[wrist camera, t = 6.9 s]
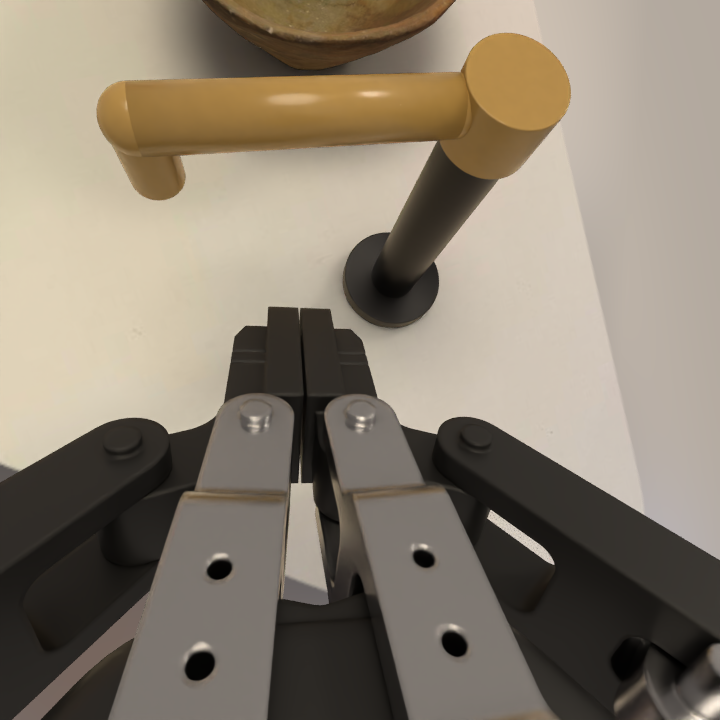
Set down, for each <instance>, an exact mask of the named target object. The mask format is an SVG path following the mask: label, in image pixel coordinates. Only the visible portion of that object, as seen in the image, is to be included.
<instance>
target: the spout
mask: <svg viewBox="0 0 720 720" xmlns="http://www.w3.org/2000/svg"><path fill="white" fill-rule="evenodd" d="M570 98H571V89H570V83H569V79H568V76H567V73H566V71H565V69H564V67H563V66H562V64H561V63H560V61H559V60H558V59H557V57H556V56H555V55H554V54H553V53H552V52H551V51H550V50H549V49H547V48H546V47H545V46H544V45H542V44H541V43H539V42H537V41H535V40H534V39H531V38H529V37H526V36H523V35H520V34H514V33H499V34H494V35H491V36H488V37H486V38H484V39H482V40H481V41H480V42H478V43H477V44H476V45H475V46H474V47H473V48H472V50H471V51H470V53H469V55H468V57H467V59H466V61H465V63H464V65H463V68H462V70H461V72H437V73H399V74H360V75H322V76H283V77H245V78H206V79H168V80H129V81H119V82H116V83H114V84H112V85H110V86H109V87H107V88H106V89H105V91H104V92H103V93H102V94H101V96H100V98H99V100H98V104H97V120H98V124H99V127H100V129H101V131H102V133H103V135H104V136H105V138H106V139H107V140H108V142H109V143H110V144H111V145H112V146H113V148H114V150H115V152H116V154H117V156H118V158H119V160H120V162H121V164H122V166H123V168H124V170H125V172H126V174H127V176H128V178H129V180H130V182H131V183H132V185H133V187H134V189H135V190H136V191H137V192H138V193H139V194H141V195H142V196H144V197H146V198H149V199H152V200H166V199H169V198H172V197H174V196H175V195H177V194H178V193H179V192H180V191H181V189H182V188H183V186H184V184H185V178H186V176H185V171H184V167H183V164H182V161H181V157H180V155H197V154H214V153H232V152H249V151H266V150H284V149H301V148H319V147H336V146H353V145H371V144H388V143H406V142H423V141H440V144H441V146H442V148H443V150H444V152H445V154H446V155H447V157H448V158H449V159H450V160H451V161H452V162H453V163H454V164H455V165H456V166H457V167H458V168H460V169H461V170H463V171H464V172H466V173H468V174H470V175H472V176H475V177H478V178H482V179H501V178H504V177H507V176H509V175H512V174H513V173H515V172H516V171H517V170H518V169H520V168H521V166H522V165H523V164H524V163H525V162H526V160H527V159H528V158H529V157H530V156H531V154H532V153H533V152H534V151H535V150H536V148H537V147H538V146H539V145H540V144H541V143H542V141H543V140H544V139H545V138H546V137H547V135H548V134H549V133H550V132H551V131H552V129H553V128H554V127H555V126H556V125H557V123H558V122H559V121H560V120H561V119H562V117H563V116H564V115H565V113H566V111H567V109H568V106H569V103H570Z"/></svg>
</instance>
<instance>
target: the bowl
mask: <svg viewBox="0 0 720 720" xmlns="http://www.w3.org/2000/svg"><path fill="white" fill-rule="evenodd" d="M202 1H203V2H204V3H205V4H206V5H207V6H208V7H209V8H210V9H211V10H212V11H213V12H214V13H215V14H216V15H217V16H218V17H220V18H221V19H222V20H223V21H224V22H225V23H226V24H227V25H229V26H230V27H231V28H232V29H233V30H235V31H236V32H237V33H238V34H240V35H241V36H242V37H243V38H245V39H246V40H248V41H249V42H251V43H253V44H255V45H256V46H258V47H260V48H261V49H263V50H265V51H266V52H268V53H269V54H271V55H272V56H274V57H275V58H277V59H278V60H280V61H282V62H283V63H285V64H287V65H289V66H291V67H293V68H296V69H300V70H321V69H325V68H330V67H333V66H336V65H340V64H344V63H348V62H351V61H354V60H357V59H359V58H362V57H365V56H368V55H372V54H375V53H377V52H380V51H382V50H384V49H386V48H388V47H390V46H393V45H395V44H398V43H400V42H402V41H404V40H406V39H409V38H411V37H412V36H414V35H416V34H418V33H420V32H421V31H423V30H424V29H426V28H428V27H429V26H431V25H432V24H434V23H435V22H436V21H437V20H438V19H439V18H440V17H441V16H442V15H443V14H444V13H445V11H446V10H447V9H448V8H449V7H450V6H451V5H452V4H453V3H454V2H455V1H456V0H202Z"/></svg>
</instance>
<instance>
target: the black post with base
mask: <svg viewBox="0 0 720 720" xmlns="http://www.w3.org/2000/svg"><path fill="white" fill-rule="evenodd" d="M498 180H499V179H482V178H478V177H475V176H472V175H470V174H468V173H466V172H464V171H463V170H461V169H460V168H458V167H457V166H456V165H455V164H454V163H453V162H452V161H451V160H450V159H449V158H448V157H447V155H446V154H445V152H444V150H443V148H442V146H441V144H440V141H437V143H436V145H435V147H434V149H433V151H432V153H431V154H430V156H429V158H428V160H427V162H426V164H425V166H424V168H423V170H422V172H421V174H420V176H419V178H418V180H417V182H416V184H415V186H414V188H413V190H412V192H411V194H410V196H409V198H408V199H407V201H406V203H405V205H404V207H403V209H402V211H401V213H400V215H399V217H398V219H397V221H396V223H395V225H394V227H393V229H392V231H391V233H390V232H388V233H378V234H375V235H371V236H369V237H367V238H365V239H364V240H362V241H361V242H360V243H358V244H357V245H356V246H355V248H354V249H353V250H352V252H351V253H350V255H349V257H348V259H347V262H346V265H345V268H344V272H343V288H344V292H345V295H346V297H347V300H348V301H349V303H350V305H351V306H352V308H353V309H354V310H355V311H356V312H357V313H358V314H359V315H360V316H361V317H362V318H364V319H365V320H367V321H368V322H370V323H373V324H375V325H378V326H382V327H388V328H396V327H403V326H406V325H409V324H411V323H413V322H415V321H417V320H418V319H419V318H421V317H422V316H423V315H424V314H425V313H426V312H427V311H428V310H429V308H430V307H431V306H432V304H433V303H434V301H435V299H436V296H437V293H438V287H439V276H438V271H437V267H436V265H435V262H434V260H435V259H436V258H437V256H438V255H439V254H440V253H441V251H442V250H443V249H444V248H445V246H446V245H447V244H448V243H449V241H450V240H451V239H452V237H453V236H454V235H455V234H456V232H457V231H458V230H459V229H460V227H461V226H462V225H463V224H464V222H465V221H466V220H467V219H468V217H469V216H470V215H471V214H472V212H473V211H474V210H475V209H476V207H477V206H478V205H479V204H480V202H481V201H482V200H483V199H484V197H485V196H486V195H487V193H488V192H489V191H490V190H491V188H492V187H493V186H494V185H495V183H496V182H497V181H498Z"/></svg>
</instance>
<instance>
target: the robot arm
mask: <svg viewBox="0 0 720 720" xmlns="http://www.w3.org/2000/svg"><path fill="white" fill-rule="evenodd" d="M299 461H300V463H301V483H313V495H314V501H315V504H316V508H315V517H316V523H317V529H318V536H319V542H320V548H321V554H322V560H323V566H324V572H325V578H326V584H327V591H328V599H329V604H326V605H312V604H306V603H301V602H296V601H290V600H285V599H283V591H284V578H285V565H286V552H287V539H288V527H289V512H290V491H291V483H298V477H299ZM490 510H492V511H494V512H495V513H496V514H498V515H499V516H501V517H502V518H503V519H505V520H506V521H508V522H509V523H510V524H512V525H513V526H515V527H516V528H517V529H519V530H520V531H522V532H523V533H525V534H526V535H527V536H529V537H530V538H532V539H533V540H534V541H536V542H537V543H539V544H540V545H541V546H543V547H544V548H545V549H546V550H547V551H548V553H549V554H550V555H551V557H552V559H553V561H554V564H555V565H553V564H550V563H548V562H546V561H545V560H543V559H542V558H541V557H539V556H538V555H536V554H535V553H534V552H532V551H531V550H530V549H528V548H527V547H525V546H524V545H523V544H521V543H520V542H519V541H517V540H516V539H514V538H513V537H512V536H510V535H509V534H508V533H506V532H505V531H503V530H502V529H501V528H499V527H498V526H497V525H495V524H494V523H492V522H491V521H490V520H488V519H487V517H488V515H489V512H490ZM149 591H150V592H149ZM148 592H149V595H148V598H147V601H146V604H145V607H144V610H143V613H142V616H141V620H140V623H139V626H138V629H137V632H136V635H135V638H133V639H131V640H130V641H128V642H126V643H125V644H123V645H122V646H120V647H119V648H117V649H116V650H114V651H113V652H112V653H110V654H109V655H107V656H106V657H105V658H104V659H103V660H101V661H100V662H99V663H98V664H97V665H95V666H94V667H93V668H92V669H91V670H89V671H88V672H87V673H86V674H85V675H84V676H83V677H82V678H81V679H80V680H79V681H78V682H77V683H76V684H75V685H74V686H73V687H72V688H71V689H70V690H69V691H68V692H67V693H66V694H65V695H64V696H63V697H62V698H61V699H60V700H59V701H58V702H57V704H56V705H55V706H54V707H53V708H52V709H51V710H50V711H49V712H48V713H47V714H46V715H45V716H44V717H43V718H42V719H41V720H720V560H718V559H716V558H715V557H713V556H711V555H710V554H708V553H706V552H705V551H703V550H701V549H700V548H698V547H696V546H695V545H693V544H692V543H690V542H688V541H687V540H685V539H683V538H682V537H680V536H678V535H677V534H675V533H673V532H671V531H670V530H668V529H666V528H665V527H663V526H661V525H659V524H658V523H656V522H655V521H653V520H651V519H650V518H648V517H646V516H645V515H643V514H641V513H640V512H638V511H636V510H635V509H633V508H631V507H630V506H628V505H626V504H625V503H623V502H621V501H620V500H618V499H616V498H615V497H613V496H611V495H610V494H608V493H606V492H604V491H603V490H601V489H599V488H598V487H596V486H594V485H593V484H591V483H589V482H588V481H586V480H584V479H583V478H581V477H579V476H578V475H576V474H574V473H573V472H571V471H569V470H568V469H566V468H564V467H563V466H561V465H559V464H558V463H556V462H554V461H553V460H551V459H549V458H548V457H546V456H544V455H543V454H541V453H539V452H538V451H536V450H534V449H532V448H531V447H529V446H527V445H526V444H524V443H522V442H521V441H519V440H517V439H516V438H514V437H512V436H511V435H509V434H507V433H506V432H504V431H502V430H501V429H499V428H497V427H496V426H494V425H492V424H490V423H488V422H486V421H483V420H480V419H477V418H471V417H456V418H452V419H449V420H447V421H445V422H444V423H443V424H442V425H441V426H440V427H439V430H438V434H437V435H436V434H432V433H428V432H423V431H419V430H415V429H411V428H408V427H405V426H402V425H400V423H399V421H398V419H397V416H396V414H395V412H394V410H393V409H392V408H391V407H390V406H389V405H388V404H387V403H385V402H384V401H382V400H380V399H378V398H377V394H376V390H375V387H374V383H373V379H372V376H371V372H370V368H369V366H368V361H367V357H366V355H365V350H364V346H363V342H362V340H361V339H360V338H359V337H358V336H357V335H356V334H355V333H354V332H353V331H352V330H351V329H334V327H333V321H332V316H331V311H330V309H314V308H300V320H299V312H298V308H291V307H268V323H267V326H245V327H244V328H243V329H242V330H241V331H240V332H239V333H238V334H237V335H236V336H235V338H234V344H233V352H232V357H231V363H230V369H229V375H228V382H227V388H226V394H225V400H224V404H223V405H222V406H221V408H220V409H219V411H218V413H217V416H215V417H214V418H213V419H212V420H210V421H209V422H207V423H205V424H203V425H201V426H199V427H196V428H194V429H190V430H186V431H182V432H177V433H173V434H168V432H167V430H166V429H165V428H164V427H163V426H162V425H160V424H159V423H157V422H155V421H152V420H148V419H143V418H125V419H119V420H115V421H111V422H108V423H106V424H103V425H101V426H99V427H97V428H95V429H93V430H92V431H90V432H88V433H86V434H85V435H83V436H81V437H79V438H78V439H76V440H74V441H72V442H71V443H69V444H67V445H65V446H64V447H62V448H60V449H58V450H57V451H55V452H53V453H51V454H49V455H48V456H46V457H44V458H42V459H41V460H39V461H37V462H35V463H34V464H32V465H30V466H28V467H27V468H25V469H23V470H21V471H20V472H18V473H16V474H14V475H13V476H11V477H9V478H7V479H6V480H4V481H2V482H1V483H0V720H12V719H13V718H14V717H15V716H16V715H17V714H18V713H19V712H20V711H21V710H23V709H24V708H25V707H26V706H27V705H28V704H29V703H30V702H31V701H32V700H33V699H34V698H35V697H37V696H38V695H39V694H40V693H41V692H42V691H43V690H44V689H45V688H46V687H47V686H48V685H49V684H50V683H51V682H53V680H55V679H56V678H57V677H58V676H59V675H60V674H61V673H62V672H63V671H64V670H65V669H66V668H67V667H68V666H69V665H71V664H72V663H73V662H74V661H75V660H76V659H77V658H78V657H79V656H80V655H81V654H82V653H83V652H85V650H87V649H88V648H89V647H90V646H91V645H92V644H93V643H94V642H95V641H96V640H97V639H98V638H99V637H101V636H102V635H103V634H104V633H105V632H106V631H107V630H108V629H109V628H110V627H111V626H112V625H113V624H114V623H115V622H117V620H119V619H120V618H121V617H122V616H123V615H124V614H125V613H126V612H127V611H128V610H129V609H130V608H132V606H134V605H135V604H136V603H137V602H138V601H139V600H140V599H141V598H142V597H143V596H144V595H145V594H146V593H148Z"/></svg>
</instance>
